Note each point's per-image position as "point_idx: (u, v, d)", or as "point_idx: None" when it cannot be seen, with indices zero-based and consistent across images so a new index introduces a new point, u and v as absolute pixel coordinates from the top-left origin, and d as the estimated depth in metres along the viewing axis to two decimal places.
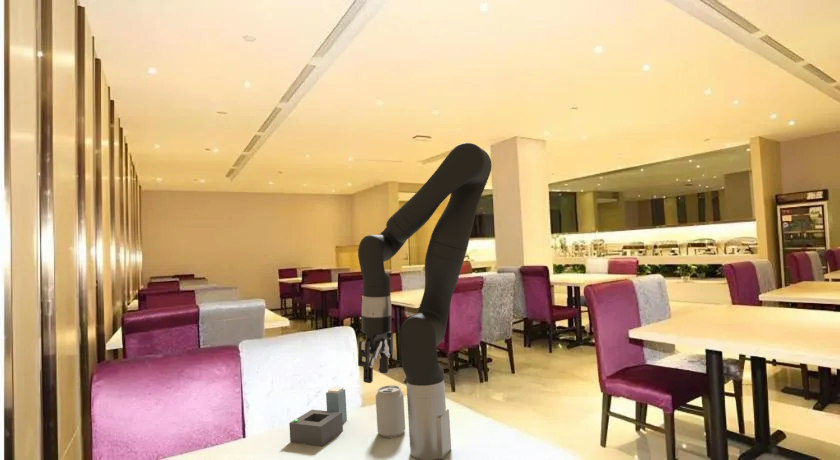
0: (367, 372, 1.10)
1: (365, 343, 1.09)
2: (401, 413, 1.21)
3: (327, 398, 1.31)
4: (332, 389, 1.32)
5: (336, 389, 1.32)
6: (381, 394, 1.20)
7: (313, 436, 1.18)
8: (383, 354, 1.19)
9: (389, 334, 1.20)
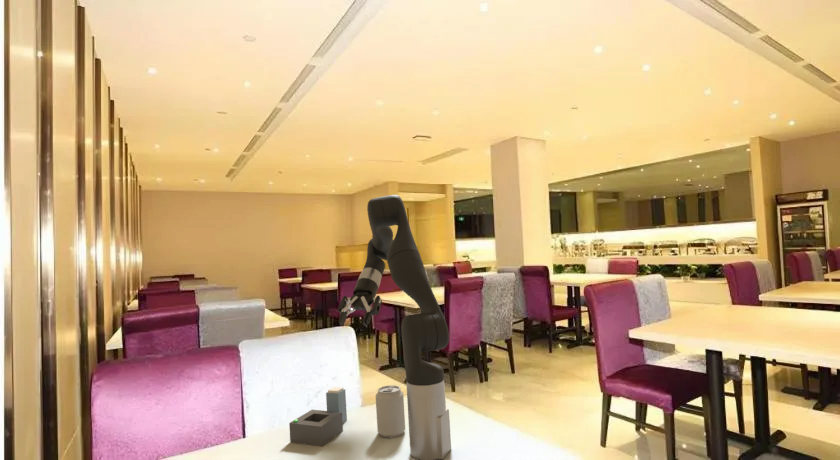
0: None
1: None
2: (401, 413, 1.21)
3: (327, 398, 1.31)
4: (332, 389, 1.32)
5: (336, 389, 1.32)
6: (381, 394, 1.20)
7: (313, 436, 1.18)
8: None
9: None
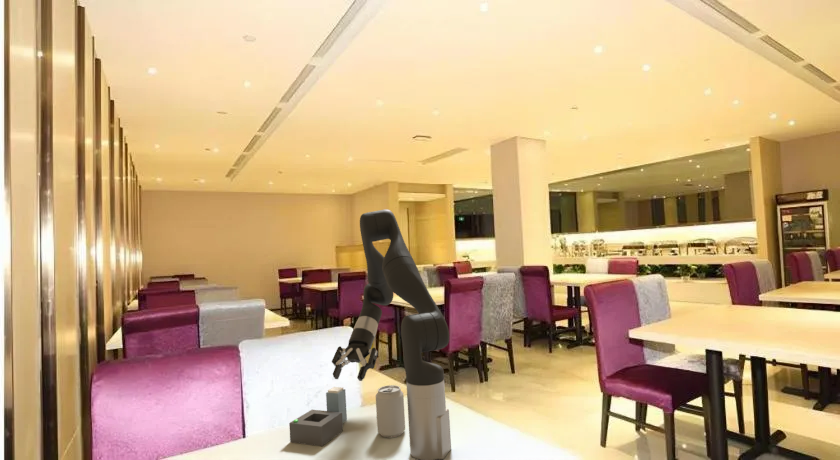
0: None
1: None
2: (401, 413, 1.21)
3: (327, 398, 1.31)
4: (332, 389, 1.32)
5: (336, 389, 1.32)
6: (381, 394, 1.20)
7: (313, 436, 1.18)
8: None
9: None
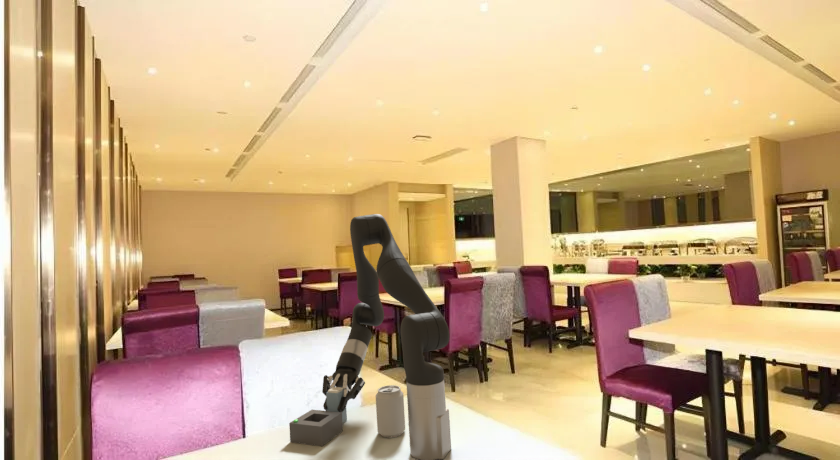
0: None
1: None
2: (401, 413, 1.21)
3: (327, 398, 1.31)
4: (332, 389, 1.32)
5: (336, 389, 1.32)
6: (381, 394, 1.20)
7: (313, 436, 1.18)
8: None
9: None
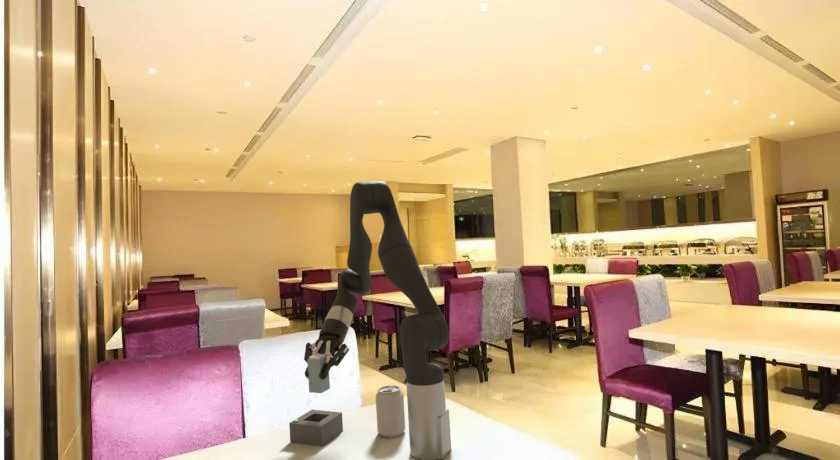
0: None
1: None
2: (401, 413, 1.21)
3: (308, 364, 1.24)
4: (314, 355, 1.25)
5: (318, 355, 1.25)
6: (381, 394, 1.20)
7: (313, 436, 1.18)
8: None
9: None
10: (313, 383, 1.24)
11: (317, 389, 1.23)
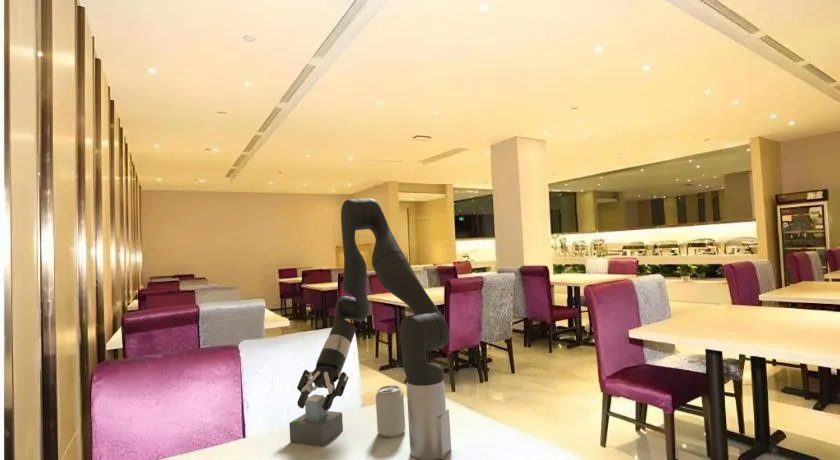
0: None
1: None
2: (401, 413, 1.21)
3: (306, 406, 1.22)
4: (312, 397, 1.23)
5: (316, 397, 1.23)
6: (381, 394, 1.20)
7: (313, 436, 1.18)
8: None
9: None
10: None
11: None
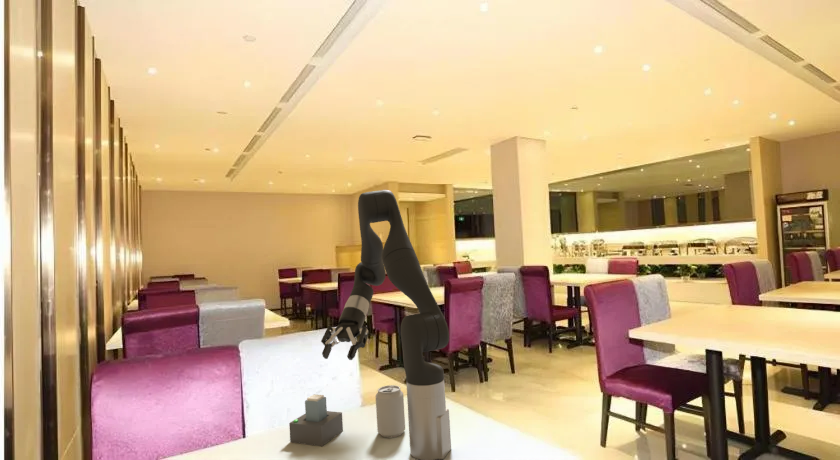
0: None
1: None
2: (401, 413, 1.21)
3: (306, 406, 1.22)
4: (312, 397, 1.23)
5: (316, 397, 1.23)
6: (381, 394, 1.20)
7: (313, 436, 1.18)
8: None
9: None
10: None
11: None
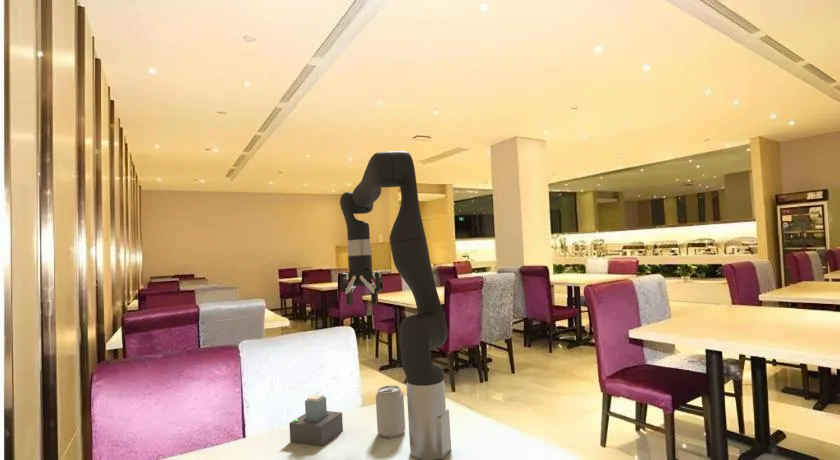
0: None
1: None
2: (401, 413, 1.21)
3: (306, 406, 1.22)
4: (312, 397, 1.23)
5: (316, 397, 1.23)
6: (381, 394, 1.20)
7: (313, 436, 1.18)
8: None
9: None
10: None
11: None
